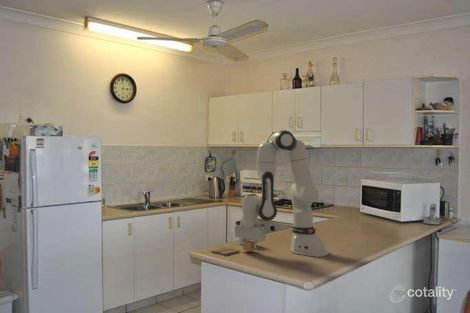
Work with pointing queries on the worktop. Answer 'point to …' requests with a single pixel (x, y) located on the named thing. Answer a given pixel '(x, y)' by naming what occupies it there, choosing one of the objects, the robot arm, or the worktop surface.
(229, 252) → the walnut board
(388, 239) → the worktop surface
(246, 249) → the terracotta cube
